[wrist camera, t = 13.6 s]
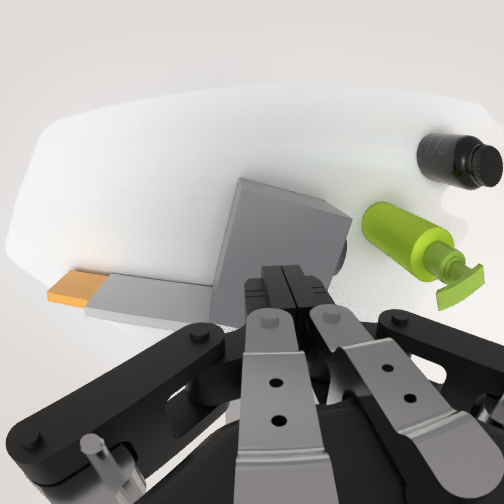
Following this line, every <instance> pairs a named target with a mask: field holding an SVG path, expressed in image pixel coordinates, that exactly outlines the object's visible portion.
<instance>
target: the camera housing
mask: <svg viewBox="0 0 504 504" xmlns="http://www.w3.org/2000/svg"><path fill="white" fill-rule="evenodd" d="M351 222H352V218H350V217H349V216H347V215H346V214H344V213H343V212H341V211H339V210H338V209H336V208H335V207H333V206H332V205H330V204H328V203H327V202H325V201H323V200H320V199H316V198H313V197H309V196H306V195H302V194H298V193H295V192H291V191H288V190H284V189H280V188H276V187H273V186H269V185H265V184H261V183H257V182H253V181H249V180H245V179H241V178H239V180H238V184H237V188H236V191H235V195H234V199H233V203H232V207H231V211H230V215H229V219H228V223H227V227H226V231H225V235H224V239H223V243H222V248H221V252H220V256H219V260H218V264H217V268H216V273H215V277H214V281H213V288H212V298H211V307H210V317H209V322H210V323H215V324H220V325H225V326H230V327H235V328H241V327H242V326H244V325H245V301H244V284H245V282H246V281H247V280H248V279H249V278H261V266H273V265H295V264H299V265H300V267H301V269H302V271H303V273H304V275H305V276H310V275H312V276H314V277H316V278H317V279H319V280H321V282H322V283H323V285H324V287H325V288H326V290H328V288H329V285H330V282H331V280H332V277H333V276H335V275H336V274H337V273H338V272H339V271H340V269H341V268H342V266H343V263H344V260H345V257H346V251H347V240H346V237H347V234H348V231H349V228H350V225H351Z"/></svg>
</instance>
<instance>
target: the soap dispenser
mask: <svg viewBox="0 0 504 504" xmlns="http://www.w3.org/2000/svg"><path fill="white" fill-rule="evenodd" d="M362 231H363V234H364V236H365V237H366V239H367V240H369V241H370V242H371V243H372V244H374V245H375V246H376V247H378V248H379V249H380V250H382V251H383V252H384V253H386V254H387V255H388V256H389V257H391V258H392V259H393V260H394V261H396V262H397V263H398V264H400V265H401V266H402V267H403V268H405V269H406V270H407V271H408V272H410V273H411V274H412V275H413V276H415V277H416V278H417V279H418V280H420V281H423V282H431V281H434V280H436V279H439V280H440V281H441V282H443V283H444V284H448V285H447V286H446V287H443V288H441V289H439V290H437V292H436V298H437V304H438V310H439V311H441V310H444V309H446V308H448V307H451V306H453V305H455V304H457V303H459V302H460V301H462V300H464V299H465V298H467V297H468V296H469V295H470V294H472V293H473V292H474V291H476V290H477V289H478V288H479V287H481V286H482V285H483V284H484V283H485V282H484V270H483V265H481V264H478V265H477V266H475V267H474V268H473V269H471V268H469V267H467V266H466V265H465V257H464V255H463V254H462V253H461V252H460V251H458V250H457V249H455V248H454V241H453V238H452V236H451V234H450V233H449V232H448V231H447V230H446V229H444V228H442V227H440V226H437V225H435V224H433V223H431V222H429V221H427V220H425V219H423V218H420V217H418V216H416V215H414V214H412V213H409V212H407V211H405V210H403V209H400V208H398V207H396V206H393V205H391V204H389V203H386V202H379V203H376V204H374V205H372V206H371V207H370V208H369V209H368V210H367V211H366V212H365V214H364V216H363V220H362Z"/></svg>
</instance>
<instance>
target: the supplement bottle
mask: <svg viewBox="0 0 504 504" xmlns="http://www.w3.org/2000/svg"><path fill="white" fill-rule="evenodd" d="M418 162H419V166H420V168H421V170H422V172H423V173H424V175H425V176H426V177H428V178H429V179H431V180H433V181H437V182H441V183H444V184H448V185H452V186H455V187H459V188H463V189H467V190H475V189H478V188H480V187H481V186H486V187H494V186H496V184H498V182H499V181H500V179H501V176H502V172H503V162H502V158H501V155H500V153H499V152H498V150H497V149H496V148H494V147H493V146H489V145H485V144H483V143H482V141H480V140H479V139H478V138H476V137H474V136H469V135H454V134H431V135H429V136H427V137H426V138H424V140H423V141H422V142H421V144H420V146H419V150H418Z"/></svg>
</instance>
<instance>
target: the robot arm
mask: <svg viewBox="0 0 504 504" xmlns="http://www.w3.org/2000/svg"><path fill="white" fill-rule="evenodd" d="M244 301H245V325H244V326H242V327H241V328H239V329H237V330H235V331H232V332H228V333H224V331H223V329H222V328H221V327H219V326H217V325H215V324H212V323H206V322H199V323H192V324H189V325H186V326H184V327H182V328H181V329H179V330H177V331H176V332H174V333H172V334H171V335H169V336H167V337H166V338H164V339H162V340H161V341H159V342H157V343H156V344H154V345H152V346H151V347H149V348H147V349H146V350H144V351H142V352H141V353H139V354H138V355H136V356H134V357H132V358H131V359H129V360H128V361H126V362H124V363H122V364H121V365H119V366H117V367H115V368H114V369H112V370H110V371H108V372H107V373H105V374H104V375H102V376H100V377H98V378H96V379H95V380H93V381H91V382H90V383H88V384H86V385H84V386H83V387H81V388H79V389H77V390H76V391H74V392H72V393H70V394H69V395H67V396H65V397H63V398H61V399H60V400H58V401H56V402H54V403H53V404H51V405H49V406H47V407H45V408H44V409H42V410H40V411H38V412H37V413H35V414H33V415H31V416H29V417H27V418H25V419H24V420H22V421H20V422H18V423H17V424H16V425H14V426H13V427H12V428H11V430H10V431H9V433H8V435H7V438H6V449H7V452H8V454H9V455H10V456H11V458H12V459H13V460H14V461H15V462H16V464H17V465H18V466H19V467H20V468H21V469H22V471H23V472H24V474H25V475H26V477H27V478H28V479H29V480H30V482H32V484H33V485H34V486H35V487H36V488H37V489H38V490H39V491H40V492H41V493H42V494H43V495H44V496H45V497H46V498H47V499H48V500H49V501H50V502H51V503H52V504H504V346H503V345H500V344H497V343H494V342H491V341H488V340H486V339H483V338H480V337H477V336H475V335H472V334H469V333H466V332H463V331H461V330H458V329H455V328H452V327H449V326H447V325H444V324H441V323H438V322H435V321H432V320H430V319H427V318H424V317H421V316H419V315H416V314H413V313H410V312H408V311H404V310H398V309H391V310H386V311H384V312H382V313H381V314H380V315H379V319H378V323H370V322H360V321H359V320H358V319H357V318H356V317H355V315H354V314H353V313H352V312H351V311H350V310H349V309H347V308H346V307H343V306H340V305H336V304H335V303H334V301H333V299H332V298H331V296H330V295H329V293H328V291H327V290H326V288H325V287H324V285H323V283H322V282H321V280H319V279H317V278H316V277H314V276H312V275H310V276H305V275H304V273H303V271H302V269H301V267H300V265H299V264H295V265H273V266H261V278H249V279H248V280H247V281H246V282H245V284H244ZM412 354H414V355H416V356H418V357H421V358H423V359H426V360H429V361H431V362H433V363H436V364H438V365H441V366H442V367H443V368H444V369H445V371H446V373H447V376H446V380H445V382H444V383H443V384H438V383H436V382H433V381H430V380H428V379H427V378H426V377H425V375H424V374H423V373H422V372H421V371H420V370H419V368H418V367H417V366H416V365H415V364H414V363H413V361H412V360H411V355H412ZM183 386H185V387H186V388H185V389H183V390H182V391H181V392H180V393H178V394H177V395H175V396H174V397H173V398H171V399H170V400H168V399H169V398H170V396H171V395H173V394H174V393H175V392H177V391H178V390H179V389H181V388H182V387H183ZM225 411H226V425H224V426H223V427H221V428H219V429H218V430H216V431H215V432H214V433H212V434H211V435H209V436H208V437H207V438H206V439H205V440H204V441H203V442H202V443H201V444H200V445H199V446H198V447H197V448H195V449H194V450H193V451H192V452H191V453H190V454H189V455H188V456H187V457H186V458H185V459H184V460H183V461H182V462H180V463H179V464H178V465H177V466H176V467H175V468H174V469H173V470H172V471H171V472H169V473H168V474H167V475H166V476H165V477H164V478H163V479H161V481H159V482H158V483H157V484H156V485H155V486H153V487H152V488H151V489H150V490H149V491H148V492H146V482H145V479H146V478H148V477H149V476H150V475H152V474H153V473H154V472H155V471H157V470H158V469H159V468H160V467H162V466H163V465H164V464H165V463H167V462H168V461H169V460H170V459H171V458H173V457H174V456H175V455H176V454H178V453H179V452H180V451H181V450H182V449H183V448H185V447H186V446H187V445H188V444H189V443H190V442H192V441H193V440H194V439H195V438H196V437H197V436H199V435H200V434H201V433H202V432H203V431H204V430H205V429H207V428H208V427H209V426H210V425H211V424H212V423H213V422H214V421H215V420H217V419H218V418H219V417H220V416H221V415H222V414H223V413H224V412H225ZM145 492H146V493H145Z"/></svg>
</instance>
